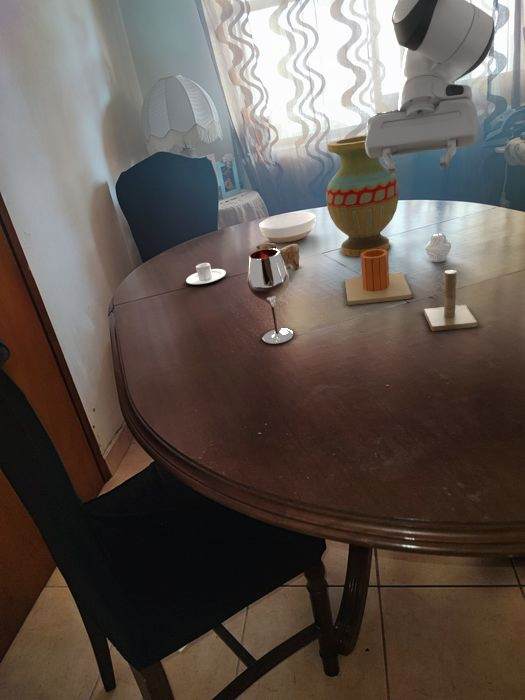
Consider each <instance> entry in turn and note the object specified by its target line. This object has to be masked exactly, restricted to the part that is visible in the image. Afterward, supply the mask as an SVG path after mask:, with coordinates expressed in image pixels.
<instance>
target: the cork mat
mask: <svg viewBox="0 0 525 700" xmlns="http://www.w3.org/2000/svg"><path fill="white" fill-rule="evenodd" d="M344 283H345V284H344V285H345V293H346V300H347V301H346V302H347V305H348V306H354V305H363V304H372V303H373V304H374V303H380V302H382V303H383V302H390V301H401V300H411V299H413V292H412V290H411V289H410V286H409V284H408V281H407V279H406V277H405V275H404V273H403V271H402V272H392V273H389V287H388V288H386V289H384V290H380V291H368V290H365V289H363V283H362V276H360V277H359V276H358V277H351V278H344Z"/></svg>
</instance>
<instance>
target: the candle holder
mask: <svg viewBox="0 0 525 700" xmlns="http://www.w3.org/2000/svg"><path fill="white" fill-rule="evenodd" d="M211 267H212V266H211V264H210V263H209V262H202V263H198V264H197V265H196V266H195V269H196V272H195V273H193V274H190V275H189V276H187V278H186V279H185V282H186V283H187V284H189V285H204V284H205V285H206V284H209V283H210V284H211V283H213V282H215V281H219V280H220V279H222V278H223V277H225V276H226V274H227V272H226V270H224V269H221V268H211Z"/></svg>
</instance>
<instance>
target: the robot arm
mask: <svg viewBox="0 0 525 700" xmlns="http://www.w3.org/2000/svg"><path fill="white" fill-rule="evenodd" d="M391 24H392V25H391V26H392V31H393V36H394V40H395V41H396V44H397V45H398V46H400V47H402V48H405V52H404V55H403V60H402V68H401V76H400V77H401V78H400V79H401V84H402V85H401V88H400V91H399V99H398V109H393V110H388V111H384V112H382V111H381V112H380V111H379V112H376V113H374V115H372V116H370V118H368V120H367V123H366V135H367V136H366V141H365V149H366V152H367V155H368V156H369V157H370V158H379V159H380V158H383V161H384V163H385V164H386V168H387V172H388V174H394V175H395V174H397V162H396V160H392V157H394V156H395V157H396V156H403V155H411V154H420V153H428V152H435V151H444V150H447V151H446V153H445V154H441V155H440V156H439V159H440V160H439V169H449V168H450V161H451V159H452V158H453V157H454V155H456V153H457V149H460V148H469V147H473V146H474V145H475V144H476V143H477V142H478V137H479V118H478V117H479V116H478V111H477V106H476V103H475V102H474V100H473V93H472V88H471V86H470V85H468V84H456V83H454V82H456V81H458V80H460V79H462V78H463V77H466V76H467V75H468V74H470V73H472V72H473V71H475V70H476V69H477V68H478V67H479V66H481V64H483V62H484V61H485V60H486V58H487V57H488V55H489V52H490V51H491V49H492V44H493V40H494V35H495V21H494V18H493V17H492V16H491V15H490V14H489V13H487V12H485V11H484V10H483V9H481V8H479V7H478V6H476V5H475V4H474V3H472V2H469V1H467V0H398V1H397V3H396V6H395V7H394V9H393V13H392V17H391Z"/></svg>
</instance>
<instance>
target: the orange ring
mask: <svg viewBox="0 0 525 700" xmlns="http://www.w3.org/2000/svg"><path fill="white" fill-rule="evenodd" d="M360 255H361V256H360V267H361V268H360V269H361V277H362V283H363V289H365V290H368V291H380V290H384V289H386V288H388V287H389V274H390V267H389V266H390V265H389V251H388V249H387V250H384V249H372V250H367V251H364V252H362V253H361V254H360Z"/></svg>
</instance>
